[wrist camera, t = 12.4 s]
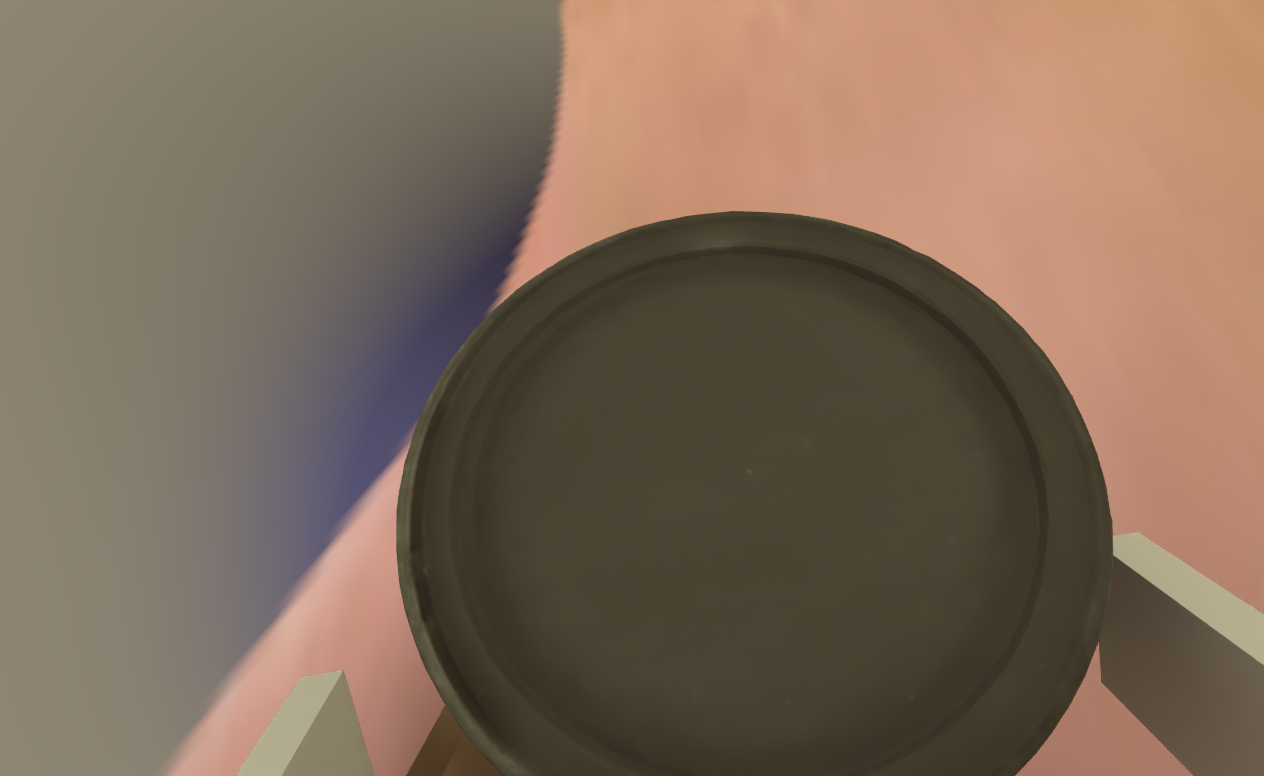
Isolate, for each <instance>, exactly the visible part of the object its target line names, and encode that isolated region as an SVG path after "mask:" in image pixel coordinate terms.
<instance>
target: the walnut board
mask: <svg viewBox="0 0 1264 776" xmlns="http://www.w3.org/2000/svg"><path fill="white" fill-rule="evenodd" d="M407 776H503V775H502V774H501V773H500V772H499V771H498V770H497V769H496V768H495V767H494V766H493V765H492V764H491V763H490V762H489V761H488V760H487V759H486V758H485V757H484V755H483V754H482V753H481V752H480V751H479V749H478V748H477V747H476V746H475V745H474V744H473V742H472V741H471V740H470V739H469V738H468V736H467V735H466V734H465V733H464V732H463V730H462V729H461V727H460V726H459V724H458V723H457V721H456V720H455V718H454V717H453V715H452V714H451V712H450V711H449V709H448V708H447V706H446V705H445V707H444V709H443V711H442V712H441V714H440V716H439V718H438V720H437V721H436V723H435V725H434V727H433V729H432V731H431V732H430V734H429V736H428V738H427V740H426V741H425V743H424V745H423V747H422V749H421V750H420V752H419V754H418V756H417V758H416V759H415V761H414V763H413V765H412V767H411V768H410V770H409V772H408V774H407Z"/></svg>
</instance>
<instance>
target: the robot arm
mask: <svg viewBox="0 0 1264 776" xmlns="http://www.w3.org/2000/svg"><path fill="white" fill-rule="evenodd" d="M1099 651H1100V667H1101V682H1102V683H1103V684H1104V685H1105V686H1106V687H1107V688H1108V689H1109V690H1110V691H1111V692H1112V693H1113V694H1114V695H1115V696H1116V697H1117V698H1118V699H1119V700H1120V701H1121V702H1122V703H1123V704H1124V705H1125V706H1126V707H1127V708H1128V709H1129V710H1130V711H1131V712H1132V713H1133V715H1134V716H1135V717H1136V718H1137V719H1138V720H1139V721H1140V722H1141V723H1142V724H1143V725H1144V726H1145V727H1146V728H1147V729H1148V730H1149V731H1150V732H1151V733H1152V734H1153V735H1154V736H1155V737H1156V738H1157V739H1158V740H1159V741H1160V742H1161V743H1162V744H1163V745H1164V746H1165V747H1166V748H1167V749H1168V750H1169V751H1170V752H1171V753H1172V754H1173V755H1174V756H1175V757H1176V758H1177V759H1178V760H1179V761H1180V762H1181V763H1182V764H1183V765H1184V766H1185V767H1186V768H1187V769H1188V770H1189V771H1190V772H1191V773H1192V774H1193V775H1194V776H1264V614H1262V613H1261V612H1259V611H1258V610H1256V609H1255V608H1253V607H1251V606H1250V605H1248V604H1247V603H1245V602H1244V601H1242V600H1241V599H1239V598H1238V597H1236V596H1235V595H1233V594H1232V593H1230V592H1229V591H1227V590H1225V589H1224V588H1222V587H1221V586H1219V585H1218V584H1216V583H1215V582H1213V581H1212V580H1210V579H1209V578H1207V577H1206V576H1204V575H1202V574H1201V573H1199V572H1198V571H1196V570H1195V569H1193V568H1192V567H1190V566H1189V565H1187V564H1186V563H1184V562H1183V561H1181V560H1180V559H1178V558H1176V557H1175V556H1173V555H1172V554H1170V553H1169V552H1167V551H1166V550H1164V549H1163V548H1161V547H1160V546H1158V545H1157V544H1155V543H1153V542H1152V541H1150V540H1149V539H1147V538H1146V537H1144V536H1143V535H1141V534H1140V533H1138V532H1135V533H1129V534H1123V535H1117V536H1113V570H1112V581H1111V591H1110V600H1109V604H1108V608H1107V612H1106V616H1105V620H1104V623H1103V627H1102V631H1101V635H1100V639H1099ZM236 776H374V772H373V769H372V765H371V762H370V759H369V755H368V752H367V748H366V745H365V741H364V738H363V735H362V731H361V728H360V724H359V721H358V717H357V714H356V711H355V707H354V704H353V700H352V697H351V694H350V690H349V687H348V683H347V680H346V676H345V673H344V670H340V671H334V672H328V673H322V674H317V675H311V676H305V677H301V678H300V680H299V681H298V683H297V684H296V686H295V687H294V689H293V690H292V692H291V693H290V695H289V696H288V698H287V699H286V701H285V702H284V704H283V705H282V707H281V708H280V710H279V711H278V713H277V714H276V716H275V717H274V719H273V720H272V722H271V723H270V725H269V726H268V728H267V729H266V731H265V732H264V734H263V735H262V737H261V738H260V740H259V741H258V743H257V744H256V746H255V747H254V749H253V750H252V752H251V753H250V755H249V756H248V758H247V759H246V761H245V762H244V764H243V765H242V767H241V768H240V770H239V771H238V773H237V774H236Z"/></svg>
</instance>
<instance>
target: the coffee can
mask: <svg viewBox="0 0 1264 776" xmlns="http://www.w3.org/2000/svg"><path fill="white" fill-rule="evenodd" d="M396 551H397V562H398V573H399V583H400V588H401V593H402V598H403V603H404V608H405V612H406V616H407V619H408V622H409V625H410V628H411V631H412V635H413V638H414V641H415V643H416V646H417V648H418V651H419V654H420V656H421V659H422V661H423V664H424V666H425V668H426V671H427V672H428V674H429V676H430V678H431V679H432V681H433V683H434V685H435V686H436V688H437V690H438V692H439V694H440V696H441V698H442V700H443V701H444V703H445V704H446V706H447V708H448V709H449V711H450V712H451V714H452V715H453V717H454V718H455V720H456V721H457V723H458V724H459V726H460V727H461V729H462V730H463V732H464V733H465V734H466V735H467V736H468V738H469V739H470V740H471V741H472V742H473V744H474V745H475V746H476V747H477V748H478V749H479V751H480V752H481V753H482V754H483V755H484V757H485V758H486V759H487V760H488V761H489V762H490V763H491V764H492V765H493V766H494V767H495V768H496V769H497V770H498V771H499V772H500V773H501V774H502V775H503V776H1015V775H1016V774H1017V773H1018V772H1019V771H1020V770H1021V769H1022V768H1023V767H1024V766H1025V764H1026V763H1027V762H1028V761H1029V760H1030V759H1031V758H1032V757H1033V756H1034V755H1035V754H1036V753H1037V751H1038V750H1039V749H1040V748H1041V746H1042V745H1043V744H1044V742H1045V741H1046V740H1047V739H1048V737H1049V736H1050V735H1051V733H1052V732H1053V730H1054V729H1055V727H1056V726H1057V724H1058V722H1059V721H1060V719H1061V718H1062V716H1063V715H1064V713H1065V712H1066V710H1067V709H1068V707H1069V706H1070V704H1071V702H1072V700H1073V698H1074V696H1075V694H1076V692H1077V690H1078V689H1079V687H1080V685H1081V683H1082V681H1083V679H1084V677H1085V675H1086V672H1087V670H1088V667H1089V664H1090V662H1091V659H1092V657H1093V654H1094V652H1095V649H1096V647H1097V644H1098V641H1099V639H1100V635H1101V631H1102V627H1103V623H1104V620H1105V616H1106V612H1107V608H1108V604H1109V600H1110V591H1111V581H1112V570H1113V530H1112V518H1111V515H1110V508H1109V502H1108V495H1107V489H1106V484H1105V480H1104V476H1103V472H1102V470H1101V466H1100V462H1099V459H1098V455H1097V452H1096V450H1095V447H1094V445H1093V442H1092V439H1091V437H1090V434H1089V432H1088V430H1087V427H1086V425H1085V422H1084V420H1083V418H1082V416H1081V414H1080V412H1079V410H1078V408H1077V406H1076V404H1075V401H1074V399H1073V396H1072V395H1071V393H1070V392H1069V390H1068V389H1067V387H1066V385H1065V384H1064V382H1063V380H1062V378H1061V376H1060V375H1059V373H1058V372H1057V370H1056V369H1055V367H1054V366H1053V364H1052V363H1051V361H1050V360H1049V358H1048V357H1047V356H1046V354H1045V353H1044V352H1043V350H1042V349H1041V348H1040V347H1039V346H1038V345H1037V344H1036V343H1035V342H1034V341H1033V339H1032V338H1031V337H1030V336H1029V334H1028V333H1027V332H1026V331H1025V330H1024V328H1023V327H1022V326H1020V325H1019V324H1018V323H1017V322H1016V321H1015V320H1014V319H1013V318H1012V317H1011V316H1010V315H1009V314H1008V313H1007V312H1006V311H1005V310H1004V309H1002V308H1001V307H1000V306H999V305H998V304H997V303H996V302H995V301H993V300H992V299H991V298H989V297H988V296H987V295H985V294H984V293H983V292H982V291H981V290H980V289H978V288H977V287H976V286H974V285H973V284H971V283H970V282H968V281H967V280H965V279H964V278H962V277H961V276H959V275H958V274H956V273H955V272H953V271H951V270H950V269H948V268H947V267H945V266H943V265H942V264H940V263H939V262H937V261H935V260H934V259H932V258H931V257H929V256H926V255H924V254H921V253H919V252H916V251H914V250H912V249H911V248H909V247H907V246H905V245H903V244H901V243H899V242H897V241H895V240H892V239H890V238H887V237H884V236H882V235H879V234H877V233H873V232H870V231H867V230H864V229H860V228H857V227H854V226H850V225H846V224H843V223H839V222H835V221H832V220H827V219H821V218H815V217H809V216H802V215H795V214H784V213H769V212H743V211H730V212H719V213H709V214H700V215H692V216H685V217H681V218H676V219H671V220H665V221H660V222H656V223H652V224H648V225H644V226H640V227H636V228H633V229H629V230H627V231H624V232H621V233H619V234H616V235H613V236H611V237H608V238H605V239H603V240H601V241H598V242H596V243H594V244H592V245H589V246H587V247H585V248H583V249H581V250H579V251H577V252H575V253H573V254H571V255H569V256H567V257H565V258H564V259H562V260H560V261H559V262H557V263H556V264H554V265H553V266H551V267H549V268H547V269H546V270H545V271H543V272H542V273H540V274H539V275H537V276H535V277H534V278H532V279H531V280H529V281H528V282H527V283H525V284H524V285H523V286H521V287H520V288H518V289H517V290H516V291H515V292H514V293H513V294H511V295H510V296H509V297H508V298H507V299H506V300H505V301H504V302H503V303H501V304H500V305H499V306H498V307H497V308H496V309H494V310H493V311H492V313H491V314H490V315H489V316H488V317H487V318H486V319H485V320H484V321H483V322H482V323H481V324H480V325H479V326H478V327H477V328H476V329H475V330H474V332H473V333H472V334H471V335H470V336H469V338H468V339H467V340H466V342H465V343H464V344H463V346H462V347H461V348H460V349H459V351H458V352H457V353H456V355H455V356H454V357H453V358H452V360H451V361H450V362H449V364H448V366H447V367H446V369H445V370H444V372H443V374H442V375H441V377H440V379H439V380H438V382H437V384H436V386H435V388H434V389H433V391H432V393H431V395H430V397H429V399H428V401H427V403H426V405H425V407H424V410H423V412H422V414H421V416H420V418H419V420H418V423H417V426H416V428H415V431H414V434H413V437H412V441H411V445H410V448H409V451H408V454H407V457H406V460H405V464H404V470H403V475H402V481H401V485H400V490H399V497H398V505H397V546H396Z"/></svg>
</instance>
